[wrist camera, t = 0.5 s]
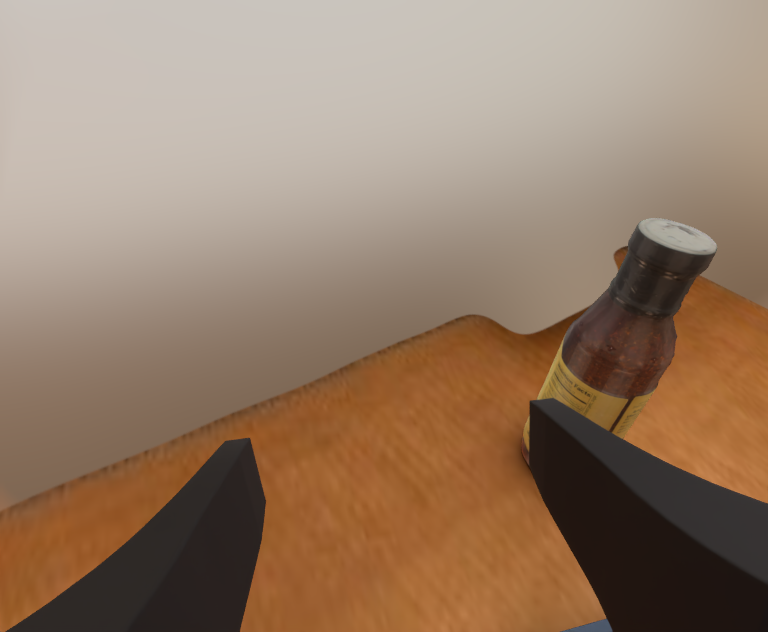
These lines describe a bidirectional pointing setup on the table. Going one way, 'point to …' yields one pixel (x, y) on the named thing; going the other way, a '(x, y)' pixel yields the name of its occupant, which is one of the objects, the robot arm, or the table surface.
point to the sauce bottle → (628, 329)
